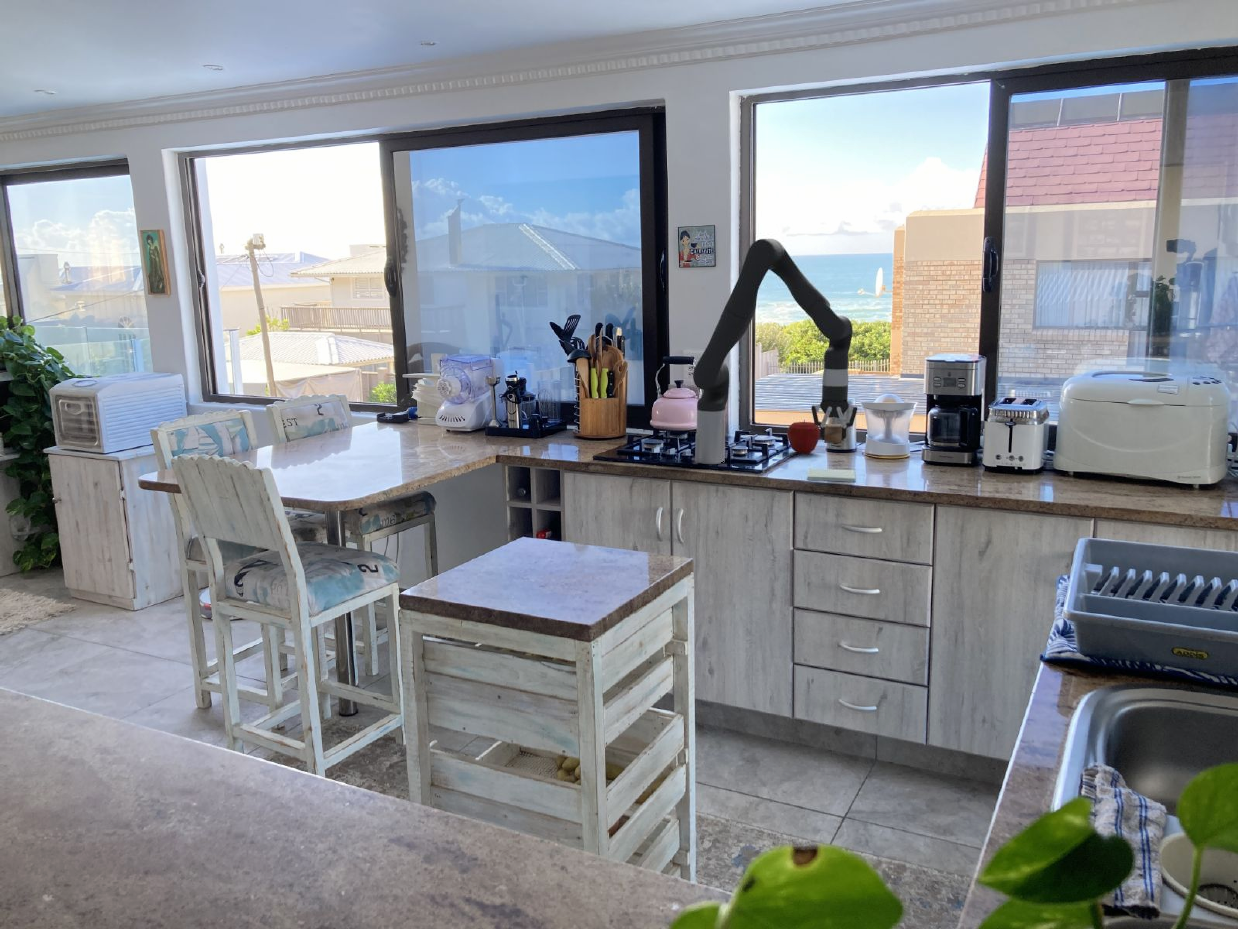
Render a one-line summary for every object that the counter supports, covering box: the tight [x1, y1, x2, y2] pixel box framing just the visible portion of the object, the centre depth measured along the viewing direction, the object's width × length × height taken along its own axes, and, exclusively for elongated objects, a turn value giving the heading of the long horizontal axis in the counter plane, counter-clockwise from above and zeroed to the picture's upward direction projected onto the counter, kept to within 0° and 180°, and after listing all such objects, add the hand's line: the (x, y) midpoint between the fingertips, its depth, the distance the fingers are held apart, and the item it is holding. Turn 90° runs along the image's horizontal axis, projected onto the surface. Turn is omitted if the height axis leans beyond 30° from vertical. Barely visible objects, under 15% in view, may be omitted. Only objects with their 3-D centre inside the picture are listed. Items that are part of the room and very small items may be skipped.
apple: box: [786, 419, 820, 455], centre depth 332 cm, size 11×11×12 cm
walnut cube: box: [823, 423, 842, 444], centre depth 294 cm, size 5×5×5 cm
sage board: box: [807, 468, 857, 483], centre depth 296 cm, size 14×12×1 cm
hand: (833, 439), depth 294 cm, fingers closed on walnut cube, 5 cm apart
